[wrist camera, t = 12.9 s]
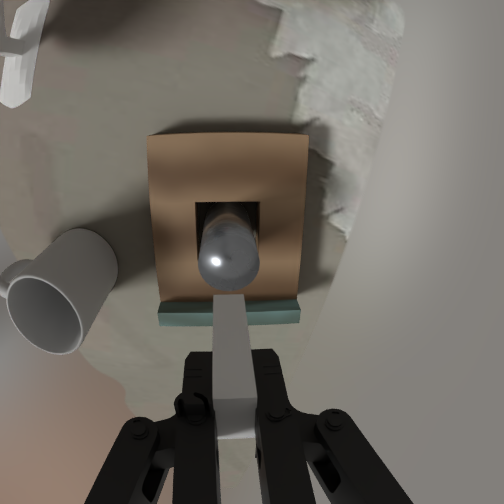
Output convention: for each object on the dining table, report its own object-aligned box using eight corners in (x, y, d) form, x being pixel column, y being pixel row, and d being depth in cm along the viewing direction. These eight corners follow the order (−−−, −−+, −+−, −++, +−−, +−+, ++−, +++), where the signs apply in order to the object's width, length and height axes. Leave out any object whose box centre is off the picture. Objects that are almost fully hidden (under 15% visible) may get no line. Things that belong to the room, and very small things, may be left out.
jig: (154, 134, 28) (141, 137, 23) (300, 133, 29) (315, 136, 24) (166, 299, 35) (159, 325, 30) (290, 297, 36) (299, 322, 31)
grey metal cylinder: (204, 199, 31) (196, 235, 22) (249, 199, 31) (260, 234, 22) (205, 241, 32) (199, 291, 23) (248, 240, 33) (258, 290, 24)
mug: (121, 234, 31) (81, 286, 21) (118, 301, 34) (88, 365, 24) (29, 217, 29) (-28, 257, 19) (33, 281, 33) (-11, 333, 22)
